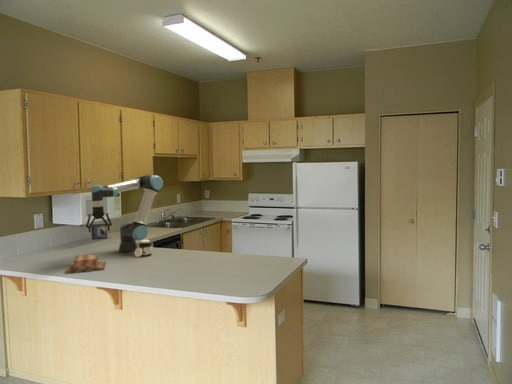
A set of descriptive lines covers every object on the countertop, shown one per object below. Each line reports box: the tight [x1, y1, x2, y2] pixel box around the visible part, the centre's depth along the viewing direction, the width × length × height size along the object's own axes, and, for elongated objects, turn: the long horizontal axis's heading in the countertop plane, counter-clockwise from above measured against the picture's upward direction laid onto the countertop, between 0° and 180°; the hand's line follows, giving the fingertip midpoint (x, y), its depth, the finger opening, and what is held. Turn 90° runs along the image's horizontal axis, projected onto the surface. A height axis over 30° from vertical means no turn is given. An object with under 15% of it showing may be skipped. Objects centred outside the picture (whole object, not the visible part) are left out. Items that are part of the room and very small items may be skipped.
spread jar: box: [134, 239, 153, 258], centre depth 323 cm, size 12×11×12 cm
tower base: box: [65, 253, 107, 274], centre depth 289 cm, size 24×19×8 cm
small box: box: [91, 223, 108, 241], centre depth 309 cm, size 11×6×10 cm, turn 105°
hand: (99, 236), depth 309 cm, fingers closed on small box, 10 cm apart
